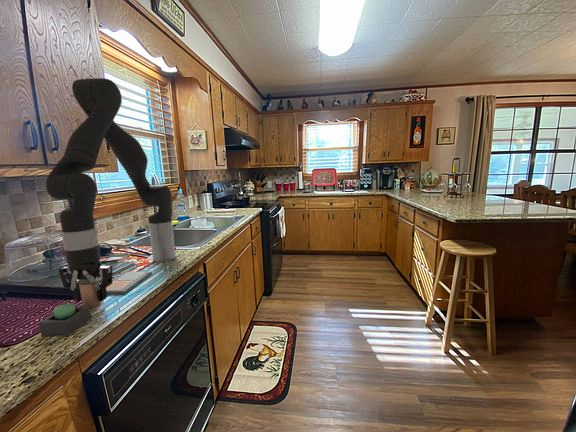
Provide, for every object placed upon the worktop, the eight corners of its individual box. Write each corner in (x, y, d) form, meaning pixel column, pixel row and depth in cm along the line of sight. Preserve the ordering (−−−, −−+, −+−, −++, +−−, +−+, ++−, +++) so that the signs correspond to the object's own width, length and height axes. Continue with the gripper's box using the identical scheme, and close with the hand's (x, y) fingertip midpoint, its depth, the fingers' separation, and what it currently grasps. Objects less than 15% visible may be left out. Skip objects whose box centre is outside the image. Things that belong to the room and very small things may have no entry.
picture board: (126, 274, 95) (125, 271, 95) (151, 273, 95) (151, 271, 95) (93, 294, 80) (93, 291, 79) (124, 294, 80) (124, 290, 79)
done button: (64, 310, 64) (63, 302, 64) (79, 309, 64) (78, 302, 64) (50, 319, 60) (48, 311, 60) (66, 318, 60) (64, 311, 60)
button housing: (66, 319, 66) (64, 307, 66) (91, 318, 66) (89, 306, 66) (41, 335, 60) (38, 322, 59) (69, 335, 60) (66, 322, 59)
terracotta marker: (84, 305, 73) (79, 276, 72) (101, 301, 76) (96, 273, 74) (82, 311, 70) (77, 281, 68) (100, 306, 72) (95, 278, 71)
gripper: (116, 241, 73) (123, 294, 76) (68, 241, 73) (77, 294, 76) (97, 249, 66) (106, 307, 69) (43, 249, 66) (54, 307, 69)
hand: (91, 300), depth 72 cm, fingers open, 6 cm apart
